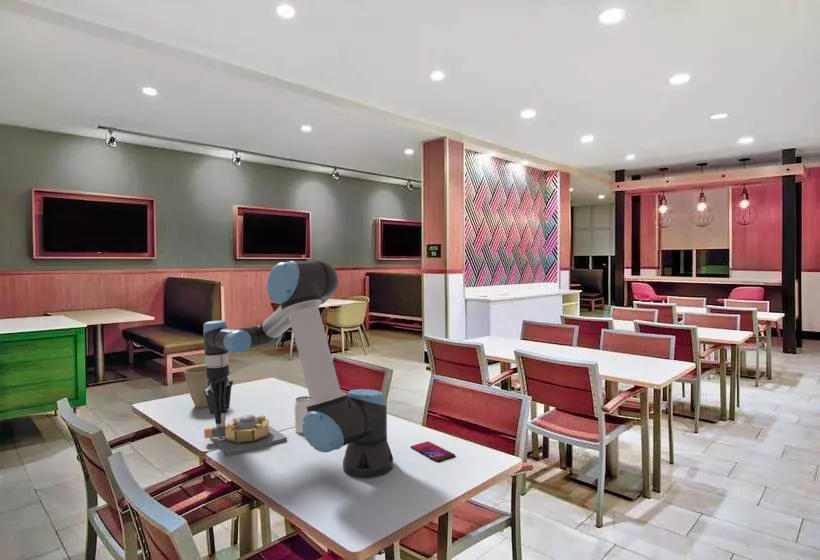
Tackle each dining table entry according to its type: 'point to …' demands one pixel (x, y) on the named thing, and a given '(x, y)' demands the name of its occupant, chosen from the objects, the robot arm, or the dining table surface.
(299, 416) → the can
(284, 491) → the dining table surface
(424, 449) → the smartphone
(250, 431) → the ring nut
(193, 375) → the plant pot
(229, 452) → the base
